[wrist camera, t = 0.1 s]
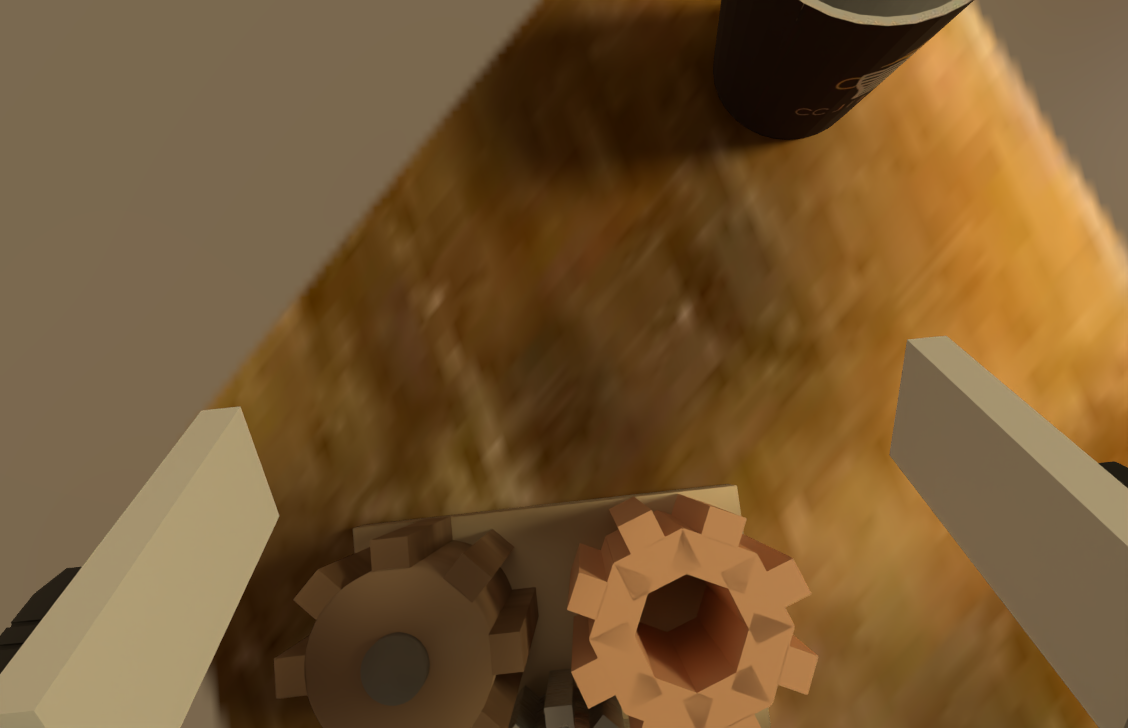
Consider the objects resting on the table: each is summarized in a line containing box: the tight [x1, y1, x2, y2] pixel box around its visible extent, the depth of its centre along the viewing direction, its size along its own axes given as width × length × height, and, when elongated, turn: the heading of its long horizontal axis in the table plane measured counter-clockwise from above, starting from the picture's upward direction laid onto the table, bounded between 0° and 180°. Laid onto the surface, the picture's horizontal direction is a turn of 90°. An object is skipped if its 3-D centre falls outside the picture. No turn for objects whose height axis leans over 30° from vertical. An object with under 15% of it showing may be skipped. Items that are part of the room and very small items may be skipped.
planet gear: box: [567, 494, 818, 728], centre depth 24 cm, size 7×7×7 cm
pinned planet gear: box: [274, 516, 539, 728], centre depth 24 cm, size 7×7×8 cm
